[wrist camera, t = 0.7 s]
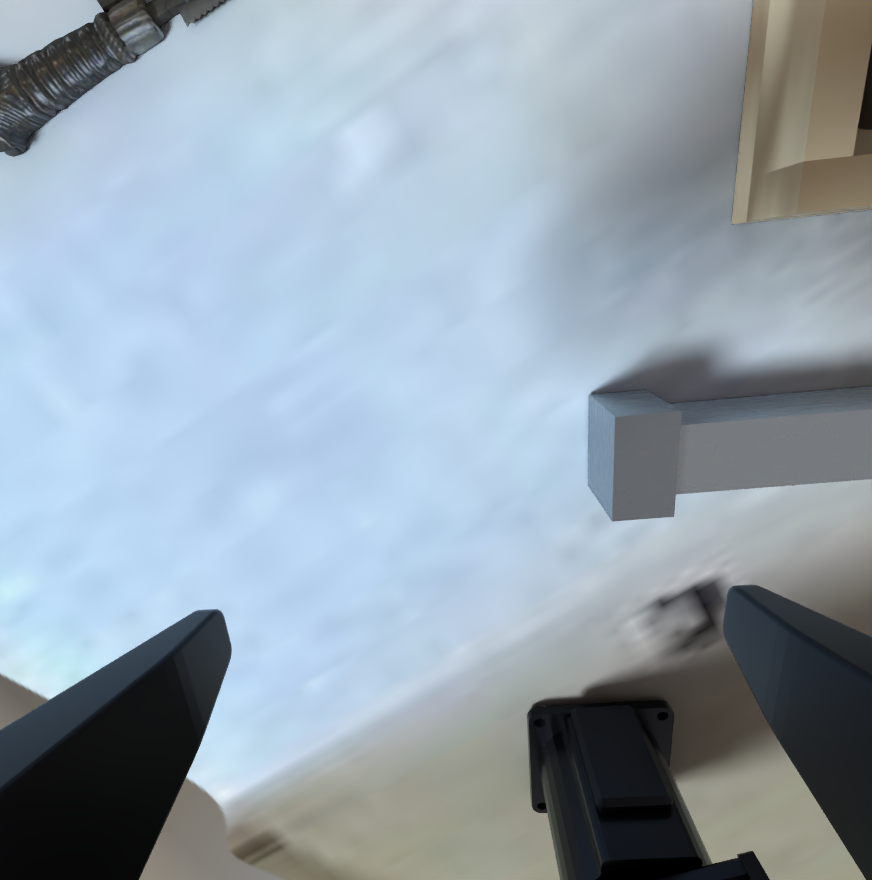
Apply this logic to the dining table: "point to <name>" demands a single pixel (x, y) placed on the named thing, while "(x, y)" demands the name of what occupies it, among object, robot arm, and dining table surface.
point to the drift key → (722, 445)
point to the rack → (806, 111)
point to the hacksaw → (82, 62)
